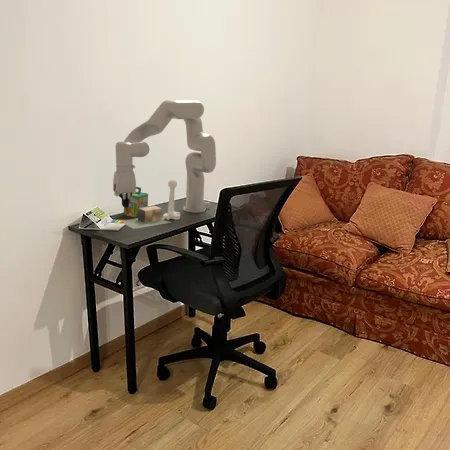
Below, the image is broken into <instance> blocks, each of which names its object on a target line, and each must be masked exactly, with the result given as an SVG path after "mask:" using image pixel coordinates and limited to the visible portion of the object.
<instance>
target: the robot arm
mask: <svg viewBox="0 0 450 450" xmlns="http://www.w3.org/2000/svg"><path fill="white" fill-rule="evenodd" d="M204 112H205V107H204V104H203V103H202V102H201V101H199V100H193V99H192V100H190V99H178V100H173V99H172V100H170V99H167V100H163V101H162V102H161V103H160V105H158V107H157V108H156V109H155V111H154V112H153V114H152V115H151V116H150V117H149V119H147V121H145V122H143V123H141V124H140V125H138V126H137V127H135V128H134V129H132V130H131V131H130V133H129V134H128V135H127V136H126V137H125V139H124V140H123V141H118V142H116V143H115V168H116V169H115V170H116V171H114V174H113V178H112V181H113V182H112V191H113V192H114V193H113V194H114V195H113V196H116V197H119V198H120V199H121V207H123V208H124V207H125V208H126V207H129V199H130V196H131V195H132V194H135V193H136V192H137V191H136V190H137V189H136V187H137V183H136V182H137V181H136V174H135V172H134V169H135V168H136V166H135V165H134V164H133V158H144V157H146V156H147V155H148V154H149V153H150V146H149V144H148V143H147V142H146V141H144V140H145V139H147V138H149V137H153V136H156V135H159V134H162V132H163V131H164V130H165V129H166V127H167V126H168V124H169V123H170V122H171V121H172V120H173V119H175V120H183V121H184V123H185V128H186V129H185V130H186V142H187V143H186V145H187V147H188V148H189V149H190V150H192V151H193V152H190V153H188V154H187V155H186V157H185V169H186V190H185V193H186V194H185V195H186V197H185V205H184V206H183V207H182V210H183V211H184V212H187V213H193V214H196V213H197V214H198V213H204V212H206V211H205V210H207V208H206V206H210V205H211V202H210V201H204V200H205V197H204V195H205V175H204V173H205V174H211V173H213V172H214V170H215V168H216V166H217V165H216V164H217V153H216V152H217V150H216V147H217V146H216V141H215V139H214V137H213V136H212V135H211V134H209V133H204V129H203V121H202V118H201V117H202V116H203V114H204Z"/></svg>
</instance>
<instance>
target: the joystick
mask: <svg viewBox="0 0 450 450" xmlns="http://www.w3.org/2000/svg"><path fill="white" fill-rule="evenodd" d="M167 186H168V187H169V197H168V206H167V207H168V208H167V212H166V213H163V214H162V218H163V220H167V221H169V220H170V219H171V220H174V221H175V220H177V221H179V220H181V212H179V211H175V189H176V187H178V182H177V180H176V179H169V181H168V182H167Z"/></svg>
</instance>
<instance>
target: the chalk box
mask: <svg viewBox="0 0 450 450" xmlns="http://www.w3.org/2000/svg"><path fill="white" fill-rule="evenodd" d="M136 190H138V191H136V193H135V194H132V195H131V196H130V199H129V207H126V208H125V207H123V216H126V217H131V218H138V208H143V207H149V193H146V192H141V191H142V187H141V186H139V187H138V186H136Z"/></svg>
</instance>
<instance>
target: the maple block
mask: <svg viewBox="0 0 450 450" xmlns="http://www.w3.org/2000/svg"><path fill="white" fill-rule="evenodd" d="M162 213H163V208H162V207H159V206H157V205H153V206H148V207H143V208H138V220H139V221H141V222H143V223H147V222H153V221H159V220H162V218H163V214H162Z"/></svg>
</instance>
